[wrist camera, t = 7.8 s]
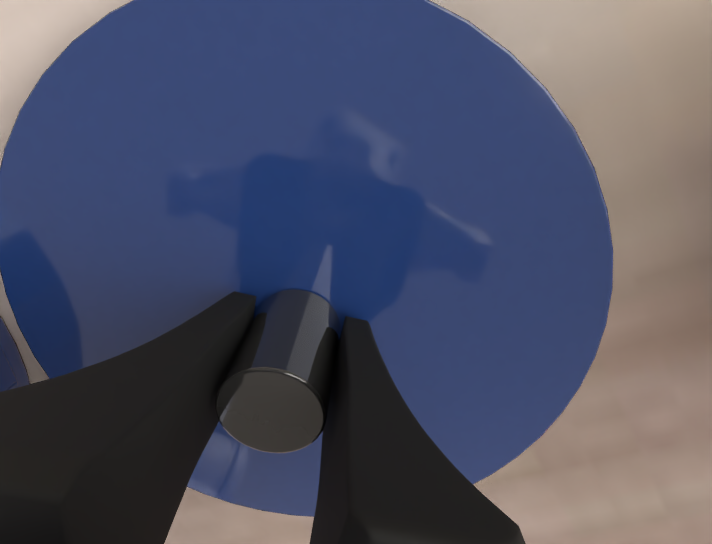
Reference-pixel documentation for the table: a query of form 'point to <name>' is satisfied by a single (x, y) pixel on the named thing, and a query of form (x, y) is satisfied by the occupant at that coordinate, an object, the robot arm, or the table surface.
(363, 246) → the pot lid
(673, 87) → the table surface
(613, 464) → the table surface
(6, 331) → the pot
